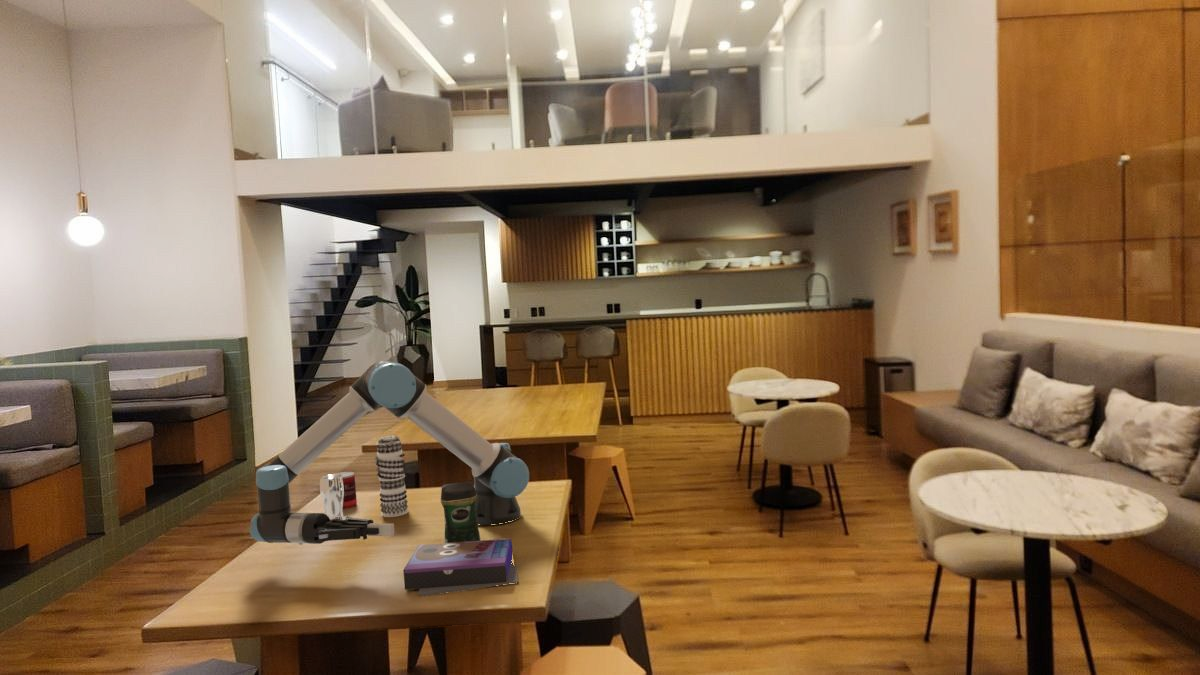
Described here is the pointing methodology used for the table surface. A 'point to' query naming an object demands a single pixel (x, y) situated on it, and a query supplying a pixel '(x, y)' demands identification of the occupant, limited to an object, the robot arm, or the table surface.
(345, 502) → the canned food
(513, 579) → the flat gray object
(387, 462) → the decorative candle
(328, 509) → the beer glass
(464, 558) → the cereal box
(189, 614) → the table surface
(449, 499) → the coffee jar
